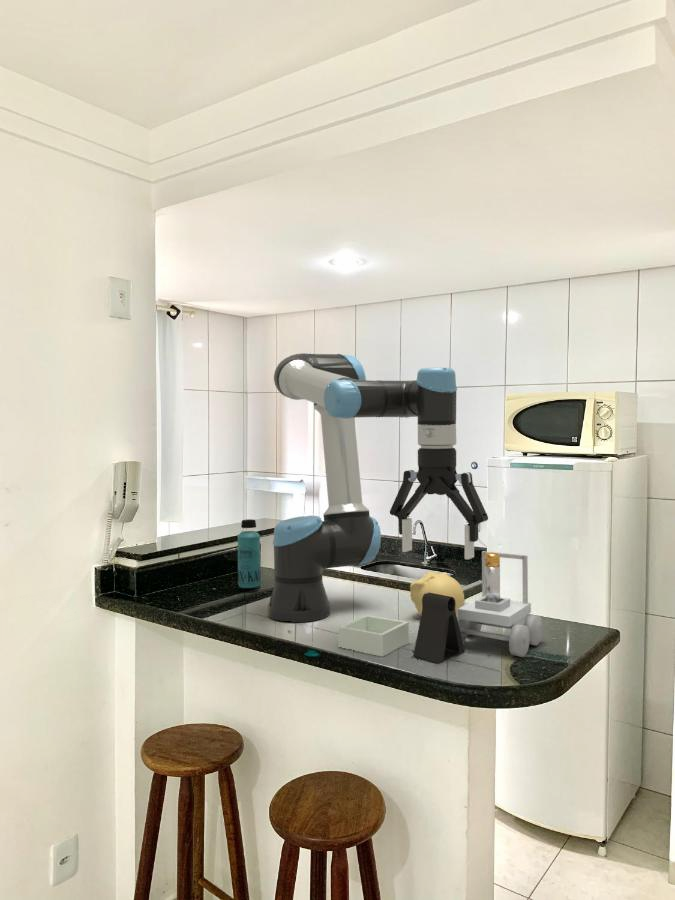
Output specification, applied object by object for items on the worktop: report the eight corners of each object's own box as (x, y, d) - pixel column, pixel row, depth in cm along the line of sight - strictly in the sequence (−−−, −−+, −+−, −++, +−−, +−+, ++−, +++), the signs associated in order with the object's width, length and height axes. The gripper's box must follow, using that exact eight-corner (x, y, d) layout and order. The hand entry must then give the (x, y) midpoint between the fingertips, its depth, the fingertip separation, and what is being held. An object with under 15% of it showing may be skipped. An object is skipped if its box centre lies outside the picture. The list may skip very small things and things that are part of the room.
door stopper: (438, 664, 132) (437, 602, 132) (413, 657, 137) (412, 596, 136) (465, 652, 139) (464, 593, 138) (440, 646, 143) (439, 588, 143)
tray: (338, 647, 143) (338, 627, 143) (366, 634, 152) (366, 614, 152) (382, 656, 137) (382, 635, 137) (408, 642, 146) (408, 622, 146)
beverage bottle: (238, 588, 197) (236, 518, 197) (261, 587, 198) (260, 517, 197) (237, 594, 191) (235, 521, 190) (261, 592, 192) (260, 520, 191)
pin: (482, 607, 142) (482, 554, 142) (488, 604, 145) (488, 551, 144) (496, 609, 140) (496, 555, 140) (502, 606, 143) (502, 553, 143)
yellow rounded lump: (433, 608, 173) (433, 565, 172) (473, 617, 164) (473, 572, 164) (403, 617, 165) (402, 572, 164) (443, 627, 156) (442, 580, 156)
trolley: (446, 647, 142) (445, 559, 142) (474, 630, 154) (473, 549, 153) (518, 660, 134) (518, 567, 133) (543, 641, 145) (542, 555, 144)
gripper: (372, 446, 140) (373, 551, 141) (489, 449, 126) (489, 564, 127) (391, 445, 146) (392, 545, 147) (505, 447, 132) (505, 557, 133)
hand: (437, 554), depth 137 cm, fingers open, 13 cm apart
